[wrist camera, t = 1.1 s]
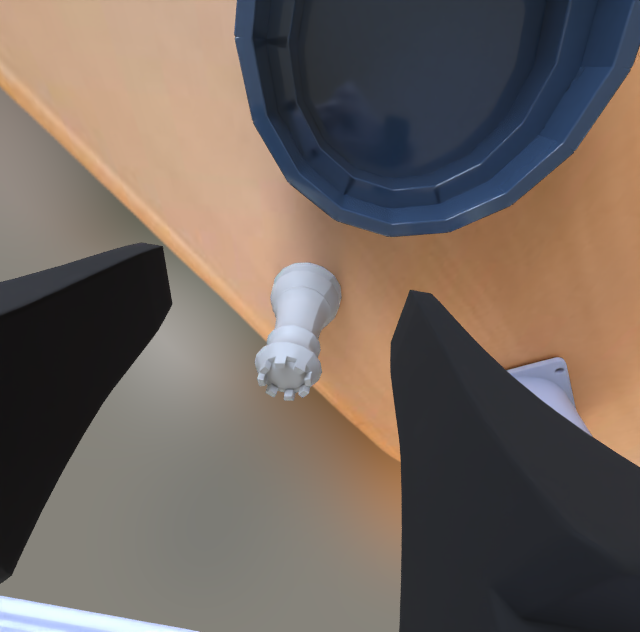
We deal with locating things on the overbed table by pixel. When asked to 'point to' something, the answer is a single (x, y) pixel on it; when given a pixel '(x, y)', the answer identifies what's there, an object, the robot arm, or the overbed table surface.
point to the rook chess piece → (297, 329)
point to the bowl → (428, 99)
